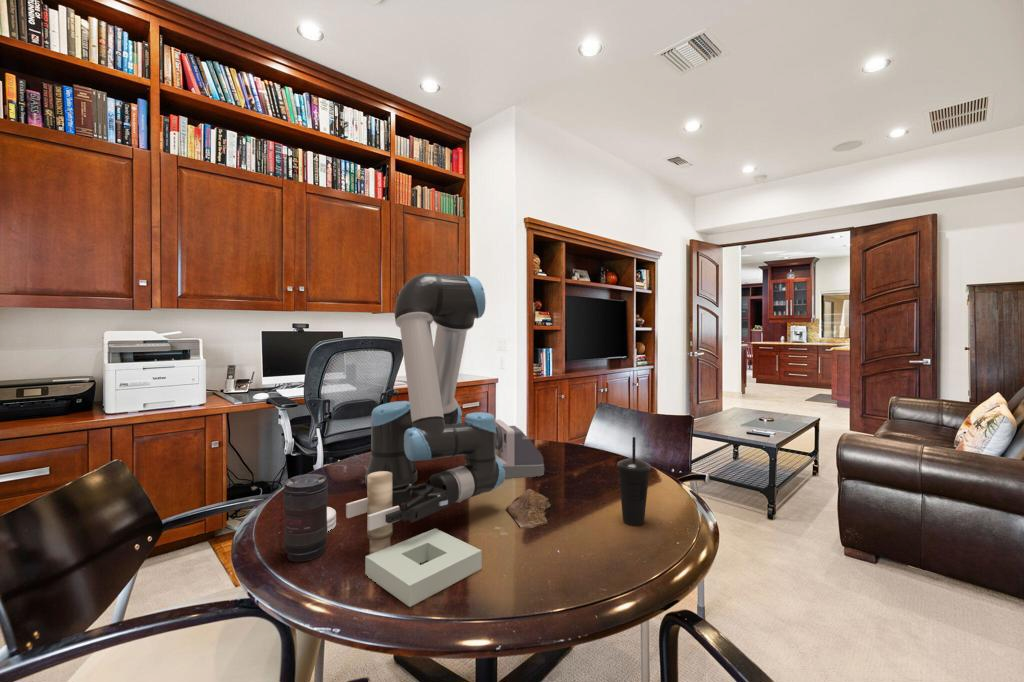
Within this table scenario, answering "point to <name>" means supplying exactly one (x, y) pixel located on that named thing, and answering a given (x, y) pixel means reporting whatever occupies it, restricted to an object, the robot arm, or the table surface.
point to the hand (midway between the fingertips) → (357, 516)
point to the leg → (379, 507)
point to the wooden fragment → (529, 509)
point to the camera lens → (305, 516)
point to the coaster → (331, 518)
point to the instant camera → (517, 452)
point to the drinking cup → (633, 488)
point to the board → (419, 582)
